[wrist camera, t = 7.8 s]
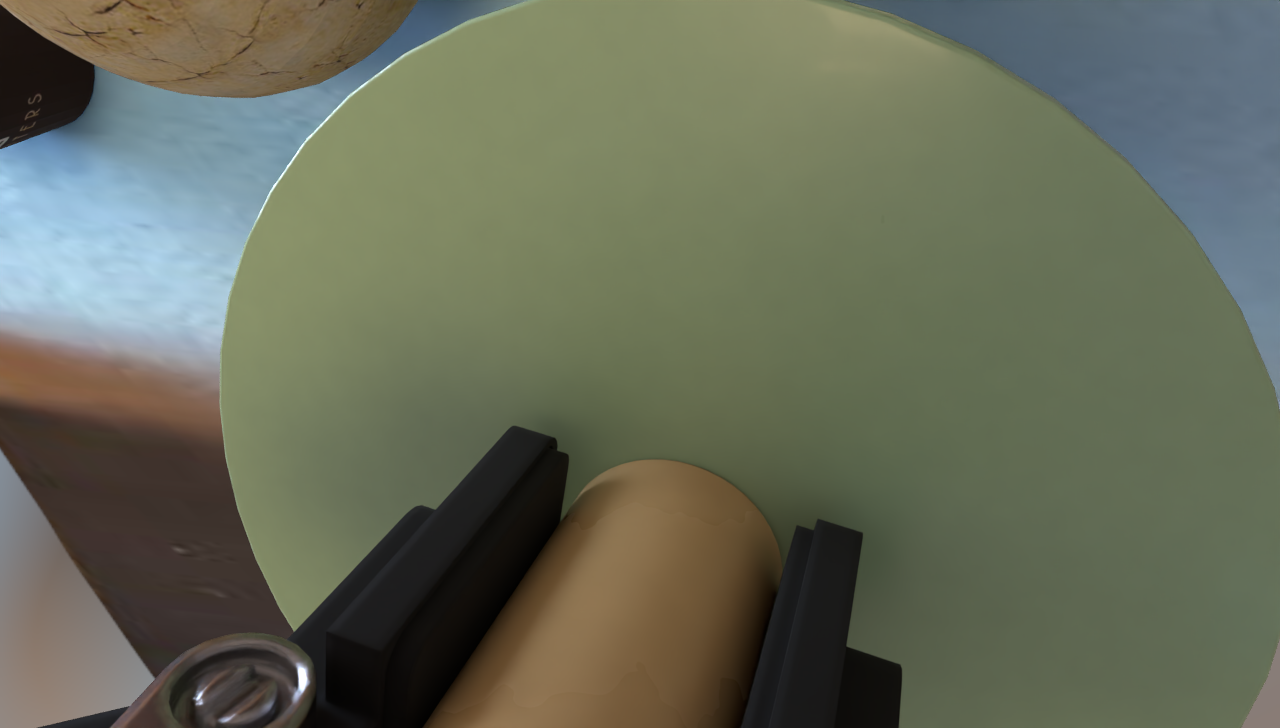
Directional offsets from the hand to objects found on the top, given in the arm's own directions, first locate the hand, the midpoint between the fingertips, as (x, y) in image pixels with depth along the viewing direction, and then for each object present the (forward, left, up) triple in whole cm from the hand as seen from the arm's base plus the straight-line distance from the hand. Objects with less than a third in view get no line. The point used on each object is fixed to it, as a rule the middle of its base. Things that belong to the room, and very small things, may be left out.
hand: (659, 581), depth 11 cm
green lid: (0, 0, -1) cm, 1 cm away
